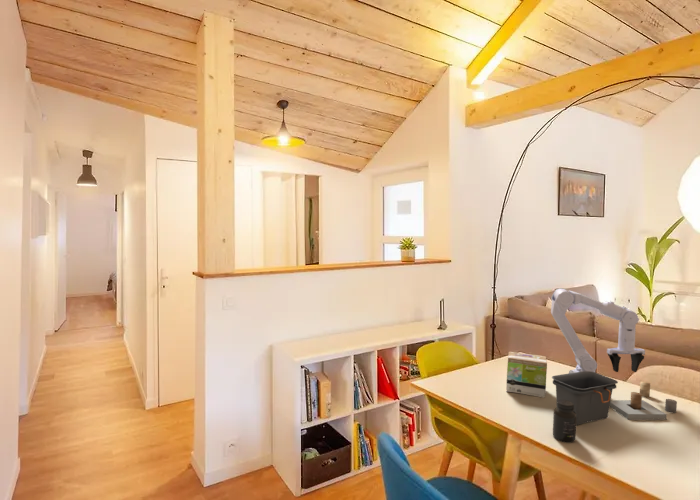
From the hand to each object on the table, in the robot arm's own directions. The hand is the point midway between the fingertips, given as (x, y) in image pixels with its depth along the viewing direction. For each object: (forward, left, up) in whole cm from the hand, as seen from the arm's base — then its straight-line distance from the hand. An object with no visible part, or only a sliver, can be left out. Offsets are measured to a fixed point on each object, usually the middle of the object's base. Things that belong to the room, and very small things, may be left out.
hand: (624, 371), depth 175 cm
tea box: (-39, +4, -10) cm, 41 cm away
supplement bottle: (-43, -35, -10) cm, 56 cm away
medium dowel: (+8, -1, -10) cm, 13 cm away
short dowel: (+8, -15, -10) cm, 20 cm away
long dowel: (-6, -16, -10) cm, 20 cm away
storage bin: (-28, -21, -10) cm, 36 cm away
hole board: (-6, -16, -10) cm, 20 cm away
